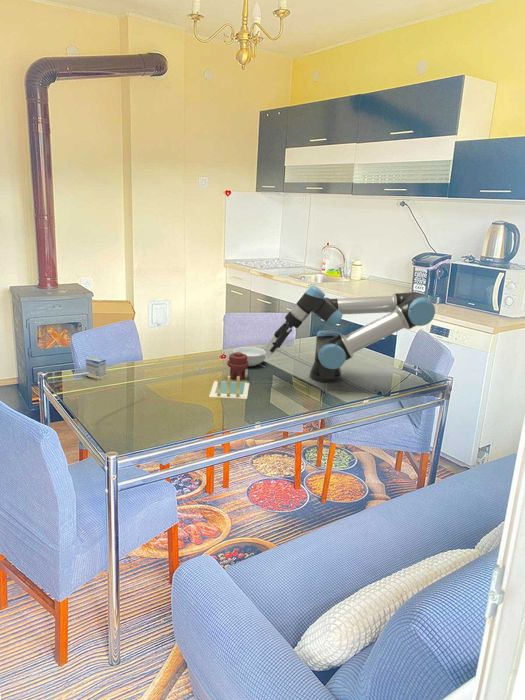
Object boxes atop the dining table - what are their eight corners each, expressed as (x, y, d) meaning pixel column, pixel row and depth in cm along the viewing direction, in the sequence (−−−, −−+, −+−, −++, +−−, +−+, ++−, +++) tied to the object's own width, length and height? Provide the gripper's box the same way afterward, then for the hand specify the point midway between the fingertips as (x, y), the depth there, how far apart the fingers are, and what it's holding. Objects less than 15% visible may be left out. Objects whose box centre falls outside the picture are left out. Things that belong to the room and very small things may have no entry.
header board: (249, 384, 233) (249, 382, 233) (246, 401, 215) (246, 398, 215) (214, 382, 233) (214, 380, 233) (208, 398, 215) (208, 396, 215)
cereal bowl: (271, 363, 264) (271, 350, 262) (253, 371, 250) (254, 358, 248) (244, 356, 272) (244, 344, 270) (225, 364, 259) (225, 351, 257)
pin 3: (239, 396, 217) (240, 376, 215) (239, 397, 216) (240, 377, 213) (236, 395, 217) (236, 375, 215) (235, 397, 216) (236, 377, 213)
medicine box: (86, 377, 233) (85, 359, 231) (92, 374, 237) (91, 356, 235) (100, 380, 231) (99, 361, 228) (106, 377, 234) (105, 359, 232)
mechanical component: (250, 376, 244) (245, 383, 235) (229, 373, 246) (224, 380, 237) (251, 351, 241) (246, 357, 231) (230, 349, 242) (224, 355, 233)
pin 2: (230, 395, 217) (230, 375, 215) (229, 396, 216) (230, 376, 213) (226, 395, 217) (227, 375, 215) (226, 396, 216) (227, 376, 213)
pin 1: (220, 394, 217) (221, 375, 215) (220, 396, 216) (220, 376, 214) (217, 394, 218) (217, 374, 215) (217, 396, 216) (217, 376, 214)
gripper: (289, 305, 237) (261, 339, 242) (290, 317, 213) (259, 355, 218) (302, 315, 238) (273, 349, 243) (304, 328, 214) (272, 366, 219)
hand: (266, 352), depth 231 cm, fingers open, 13 cm apart
